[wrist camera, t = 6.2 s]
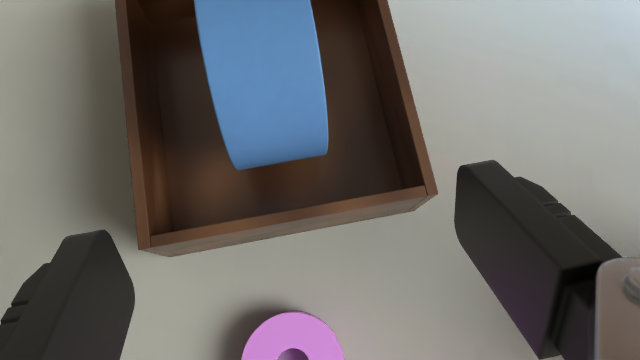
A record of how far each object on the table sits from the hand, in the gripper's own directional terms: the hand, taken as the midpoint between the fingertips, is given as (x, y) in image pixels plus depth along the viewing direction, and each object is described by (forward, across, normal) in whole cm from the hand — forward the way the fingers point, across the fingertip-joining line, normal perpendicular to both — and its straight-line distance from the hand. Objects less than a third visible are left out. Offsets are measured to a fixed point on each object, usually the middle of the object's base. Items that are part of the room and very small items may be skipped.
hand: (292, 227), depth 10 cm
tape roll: (+18, 0, +4) cm, 19 cm away
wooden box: (+19, 0, +5) cm, 19 cm away
